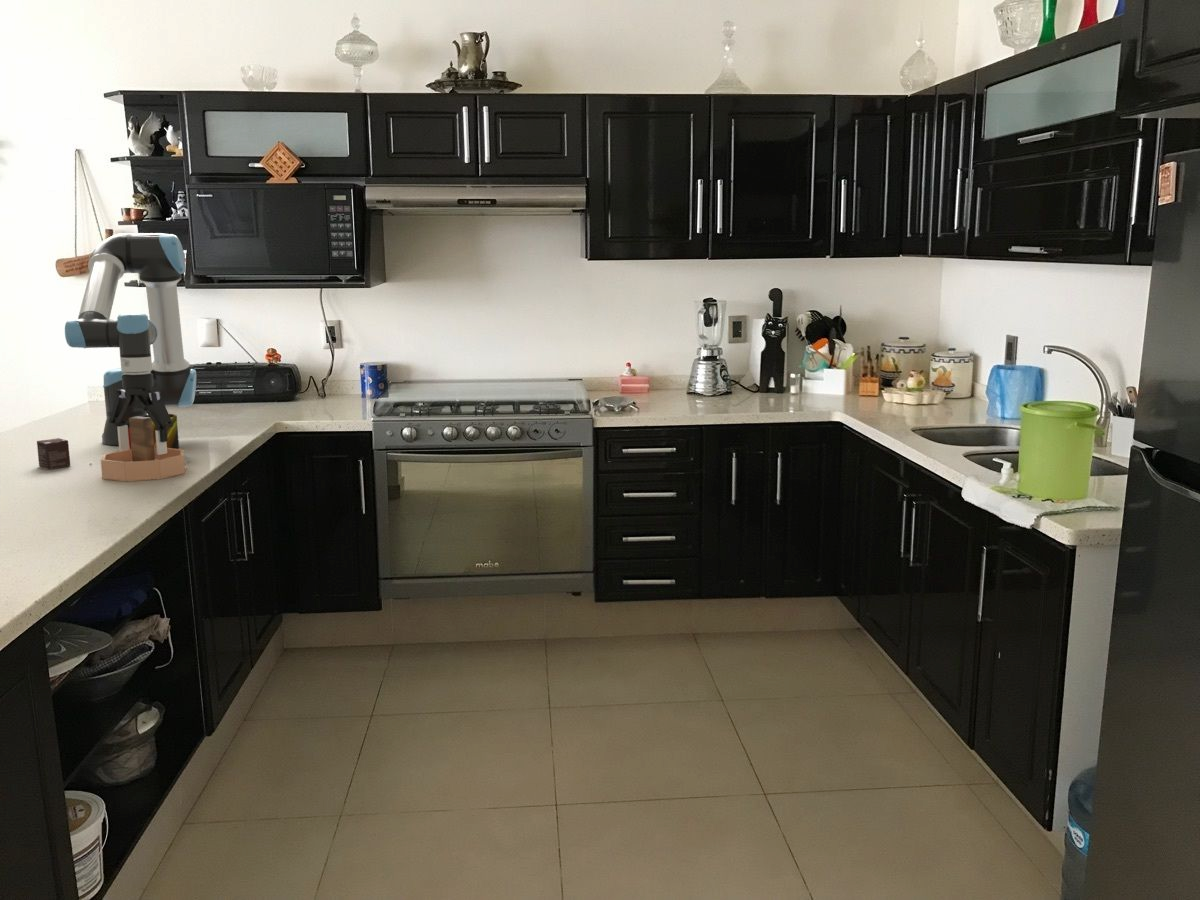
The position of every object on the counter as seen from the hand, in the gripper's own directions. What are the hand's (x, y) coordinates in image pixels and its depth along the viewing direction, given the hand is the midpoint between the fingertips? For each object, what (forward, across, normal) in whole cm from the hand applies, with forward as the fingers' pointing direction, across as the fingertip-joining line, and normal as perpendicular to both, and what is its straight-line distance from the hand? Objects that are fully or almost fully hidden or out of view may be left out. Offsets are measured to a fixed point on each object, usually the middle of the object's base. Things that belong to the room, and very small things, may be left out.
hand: (143, 452), depth 272 cm
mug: (+6, -15, +17) cm, 23 cm away
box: (+6, -29, -4) cm, 30 cm away
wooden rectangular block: (+5, 0, 0) cm, 5 cm away
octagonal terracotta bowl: (+6, 0, 0) cm, 6 cm away
